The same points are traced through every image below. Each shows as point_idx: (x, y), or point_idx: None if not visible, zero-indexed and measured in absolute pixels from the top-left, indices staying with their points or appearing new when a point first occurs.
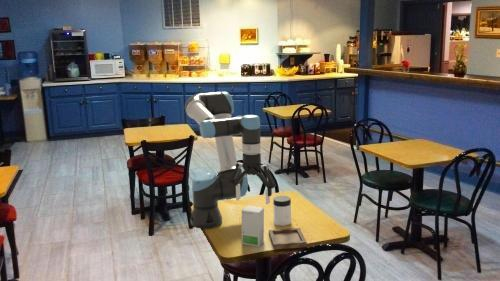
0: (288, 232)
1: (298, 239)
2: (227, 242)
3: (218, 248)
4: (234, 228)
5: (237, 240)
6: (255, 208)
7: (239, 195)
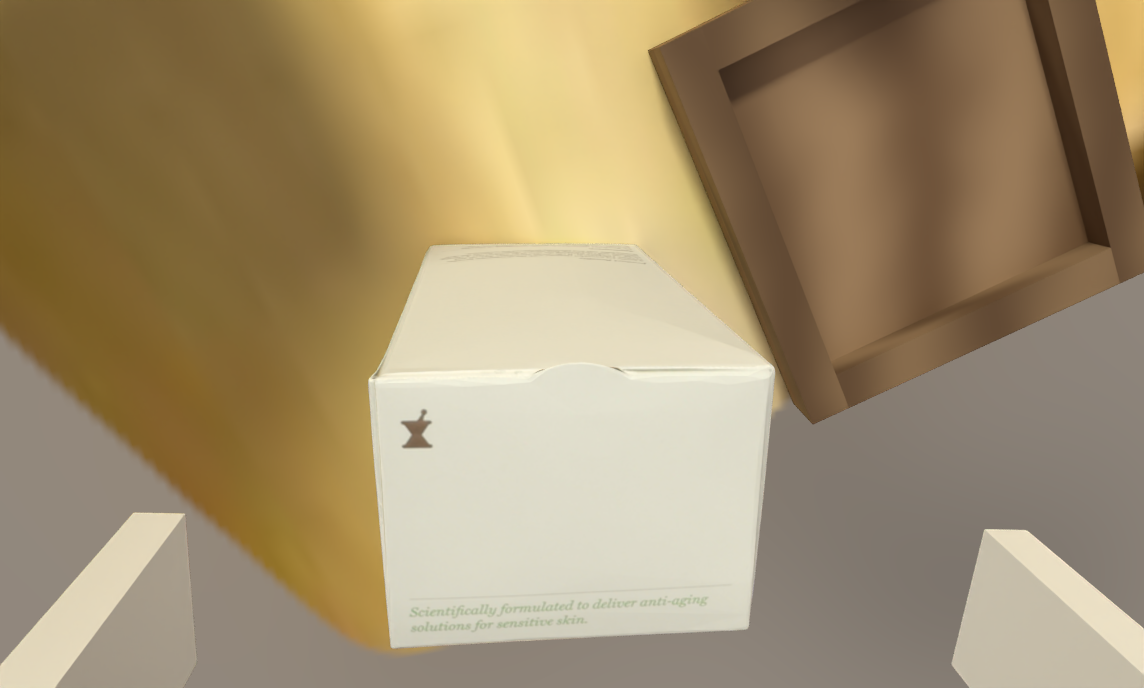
0: None
1: (1039, 151)
2: (260, 399)
3: (242, 548)
4: None
5: (344, 320)
6: (627, 486)
7: (144, 635)
